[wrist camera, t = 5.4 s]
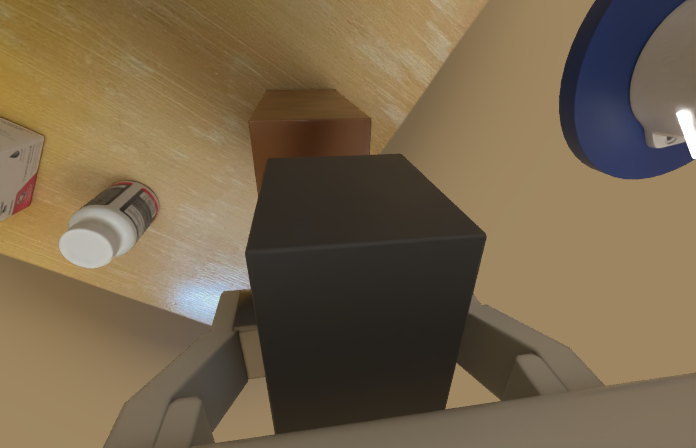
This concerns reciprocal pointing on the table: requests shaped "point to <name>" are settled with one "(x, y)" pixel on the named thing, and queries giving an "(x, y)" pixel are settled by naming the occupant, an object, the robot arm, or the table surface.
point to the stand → (306, 127)
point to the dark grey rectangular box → (358, 288)
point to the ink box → (17, 166)
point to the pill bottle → (109, 224)
